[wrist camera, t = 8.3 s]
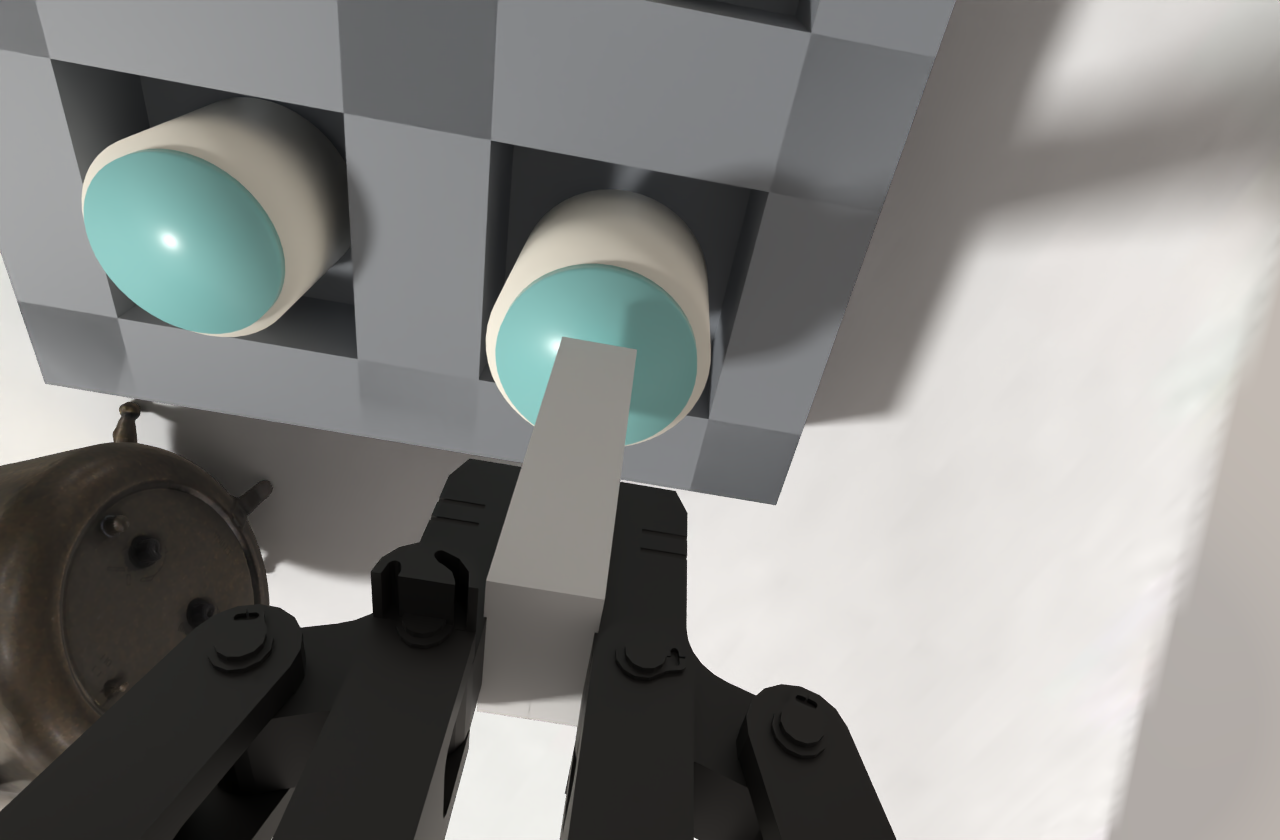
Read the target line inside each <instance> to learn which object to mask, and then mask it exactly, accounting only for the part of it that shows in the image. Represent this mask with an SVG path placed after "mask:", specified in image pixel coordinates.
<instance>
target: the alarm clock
mask: <svg viewBox="0 0 1280 840" xmlns="http://www.w3.org/2000/svg"><path fill="white" fill-rule="evenodd" d="M119 412H120V414H121V418H120V420H119V421H118V424H117V426H116V428H115V430H114V431H113V440H114V443H113V442H111V443H104V444H98V445H93V446H88V447H84V448H79V449H75V450H70V451H66V452H61V453H57V454H53V455H48V456H44V457H39V458H35V459H31V460H26V461H22V462H17V463H12V464H7V465H2V466H0V811H1V810H2V809H3V808H4V807H5V806H6V805H7V804H9V803H10V802H11V801H12V800H13V799H14V798H15V797H16V796H17V795H18V794H19V793H20V792H21V791H22V790H23V789H24V788H26V787H27V786H28V785H29V784H30V783H31V782H32V781H33V780H34V779H35V778H36V777H37V776H38V775H39V774H40V773H42V772H43V771H44V770H45V769H46V768H47V767H48V766H49V765H50V764H51V763H52V762H53V761H54V760H55V759H56V758H57V757H59V756H60V755H61V754H62V753H63V752H64V751H65V750H66V749H67V748H68V747H69V746H70V745H71V744H72V743H73V742H74V741H76V740H77V739H78V738H79V737H80V736H81V735H82V734H83V733H84V732H85V731H86V730H87V729H88V728H89V727H90V726H92V725H93V724H94V723H95V722H96V721H97V720H98V719H99V718H100V717H101V716H102V715H103V714H104V713H105V712H106V711H107V710H109V709H110V708H111V707H112V706H113V705H114V704H115V703H116V702H117V701H118V700H119V699H120V698H121V697H122V696H123V695H124V694H126V693H127V692H128V691H129V690H130V689H131V688H132V687H133V686H134V685H135V684H136V683H137V682H138V681H139V680H140V679H142V678H143V677H144V676H145V675H146V674H147V673H148V672H149V671H150V670H151V669H152V668H153V667H154V666H155V665H156V664H157V663H159V662H160V661H161V660H162V659H163V658H164V657H165V656H166V655H167V654H168V653H169V652H170V651H171V650H172V649H173V648H174V647H176V646H177V645H178V644H179V643H180V642H181V641H182V640H183V639H184V638H185V637H186V636H187V635H188V634H189V633H190V632H191V631H193V630H194V629H195V628H196V627H197V626H199V625H200V624H202V623H203V622H205V621H206V620H207V619H209V618H210V617H212V616H213V615H215V614H218V613H220V612H223V611H226V610H228V609H231V608H234V607H236V606H245V605H255V604H263V605H268V606H269V592H268V583H267V577H266V571H265V567H264V563H263V559H262V555H261V552H260V549H259V546H258V543H257V541H256V538H255V535H254V533H253V531H252V529H251V527H250V525H249V522H248V521H247V515H249V514H250V513H251V512H252V511H253V510H254V509H255V508H256V507H257V506H258V505H259V504H260V503H261V502H262V501H263V500H265V499H266V498H267V497H268V496H269V495H270V493H271V492H272V489H273V487H272V484H271V483H270V481H261V482H259V483H258V484H256V485H255V486H254V487H253V488H252V489H250V490H249V491H247V492H246V493H245V494H243V495H242V496H241V497H239V498H236V497H233V496H231V495H230V494H229V493H228V492H227V491H226V490H225V489H224V488H223V487H222V486H221V485H220V484H219V483H218V482H217V481H216V480H215V479H214V478H213V477H212V476H210V475H209V474H208V473H207V472H205V471H204V470H203V469H202V468H200V467H198V466H197V465H195V464H194V463H192V462H191V461H189V460H187V459H185V458H183V457H181V456H179V455H177V454H174V453H172V452H170V451H167V450H164V449H161V448H157V447H153V446H149V445H144V444H139V443H137V433H136V426H135V420H136V419H137V418H138V417H139V416H140V412H141V410H140V407H139V406H138V405H137V404H136V403H133V402H127V403H125V404H123V405H121V406H120V408H119Z"/></svg>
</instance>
